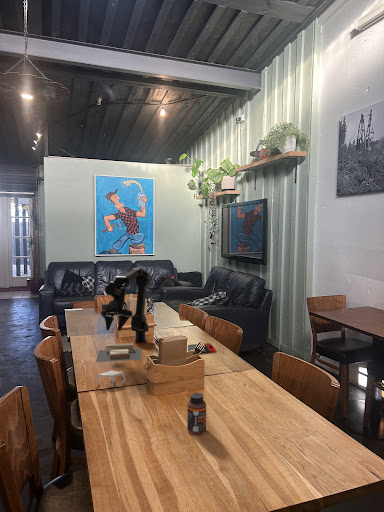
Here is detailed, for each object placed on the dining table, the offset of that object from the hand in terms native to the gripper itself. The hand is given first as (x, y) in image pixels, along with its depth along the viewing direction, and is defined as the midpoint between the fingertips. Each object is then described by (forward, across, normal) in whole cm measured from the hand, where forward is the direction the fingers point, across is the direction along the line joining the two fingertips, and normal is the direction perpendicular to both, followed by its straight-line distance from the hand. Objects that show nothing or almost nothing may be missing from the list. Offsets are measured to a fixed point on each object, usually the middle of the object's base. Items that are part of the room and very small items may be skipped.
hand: (113, 330), depth 184 cm
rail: (+9, -7, +12) cm, 17 cm away
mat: (+11, -3, +9) cm, 15 cm away
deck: (+12, -1, +8) cm, 14 cm away
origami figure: (+24, +22, -14) cm, 36 cm away
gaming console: (+6, +20, +35) cm, 41 cm away
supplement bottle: (+33, +72, -16) cm, 81 cm away
